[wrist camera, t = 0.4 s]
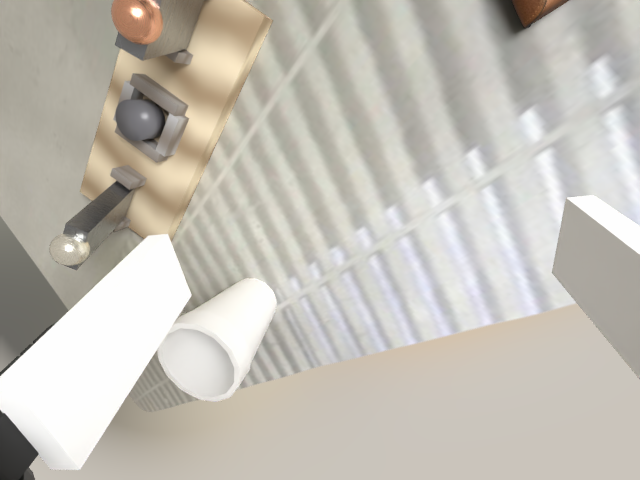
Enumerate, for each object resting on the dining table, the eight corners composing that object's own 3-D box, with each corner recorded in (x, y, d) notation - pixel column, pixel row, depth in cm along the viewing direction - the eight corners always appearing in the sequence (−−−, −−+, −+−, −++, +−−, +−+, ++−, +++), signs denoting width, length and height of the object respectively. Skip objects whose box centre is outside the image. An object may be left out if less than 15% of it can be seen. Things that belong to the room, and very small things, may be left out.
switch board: (165, -56, 36) (132, -75, 32) (272, 20, 35) (252, 10, 31) (92, 188, 49) (62, 196, 45) (169, 244, 49) (146, 257, 45)
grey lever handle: (117, 172, 44) (46, 230, 32) (144, 185, 45) (84, 246, 33) (107, 205, 46) (37, 270, 34) (132, 216, 47) (72, 283, 35)
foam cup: (241, 253, 46) (176, 305, 34) (300, 296, 46) (255, 363, 34) (212, 302, 50) (145, 363, 39) (266, 342, 50) (216, 416, 38)
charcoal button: (140, 91, 39) (121, 91, 36) (170, 113, 39) (153, 114, 36) (129, 124, 40) (111, 126, 38) (158, 145, 40) (141, 148, 38)
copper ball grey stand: (181, -21, 34) (113, -38, 22) (214, 1, 35) (164, -6, 23) (164, 32, 36) (93, 41, 24) (195, 51, 37) (140, 68, 25)
